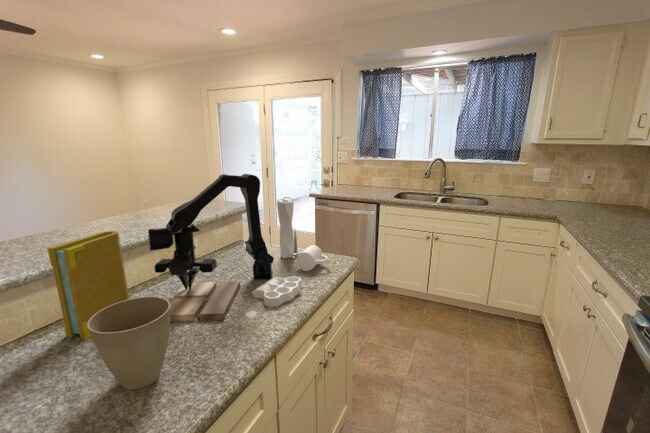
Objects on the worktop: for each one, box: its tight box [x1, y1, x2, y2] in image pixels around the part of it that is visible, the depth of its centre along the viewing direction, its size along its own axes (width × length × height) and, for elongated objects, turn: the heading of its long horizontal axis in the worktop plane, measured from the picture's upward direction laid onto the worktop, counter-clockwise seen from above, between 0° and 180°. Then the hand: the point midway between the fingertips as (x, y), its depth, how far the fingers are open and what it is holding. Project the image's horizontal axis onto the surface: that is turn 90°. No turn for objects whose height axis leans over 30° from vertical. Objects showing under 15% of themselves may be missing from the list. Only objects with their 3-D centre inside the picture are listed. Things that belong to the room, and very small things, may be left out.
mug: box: [295, 244, 329, 272], centre depth 131 cm, size 12×10×8 cm
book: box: [46, 230, 130, 341], centre depth 89 cm, size 17×7×25 cm, turn 168°
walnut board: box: [197, 280, 241, 321], centre depth 103 cm, size 8×22×2 cm, turn 3°
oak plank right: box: [173, 281, 218, 302], centre depth 108 cm, size 11×10×2 cm
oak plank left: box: [168, 298, 207, 322], centre depth 97 cm, size 11×10×2 cm
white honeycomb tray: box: [251, 275, 303, 308], centre depth 108 cm, size 3×18×15 cm
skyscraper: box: [276, 196, 298, 258], centre depth 142 cm, size 8×8×28 cm
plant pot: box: [87, 295, 171, 391], centre depth 68 cm, size 15×15×16 cm
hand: (188, 288), depth 108 cm, fingers closed
